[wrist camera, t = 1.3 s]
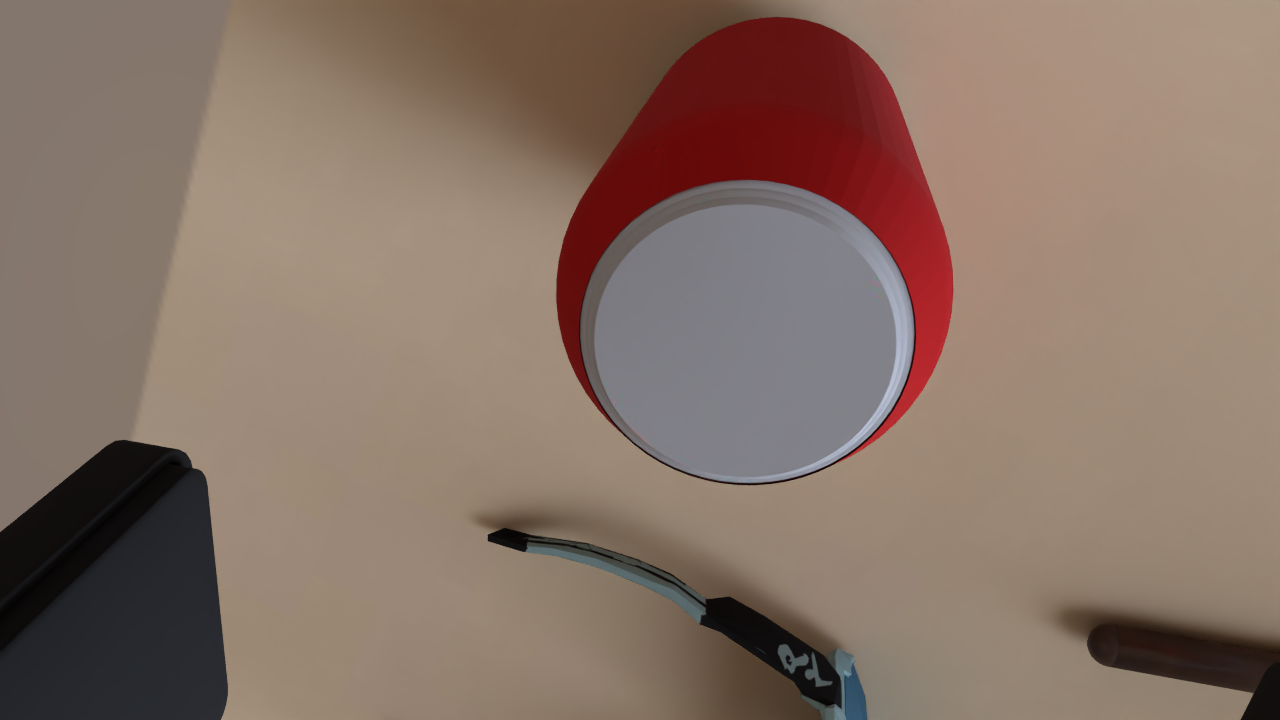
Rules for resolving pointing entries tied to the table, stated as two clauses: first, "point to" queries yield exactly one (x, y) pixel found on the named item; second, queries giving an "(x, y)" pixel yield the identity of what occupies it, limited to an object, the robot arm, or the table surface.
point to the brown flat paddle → (1179, 657)
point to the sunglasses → (724, 625)
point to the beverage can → (758, 261)
